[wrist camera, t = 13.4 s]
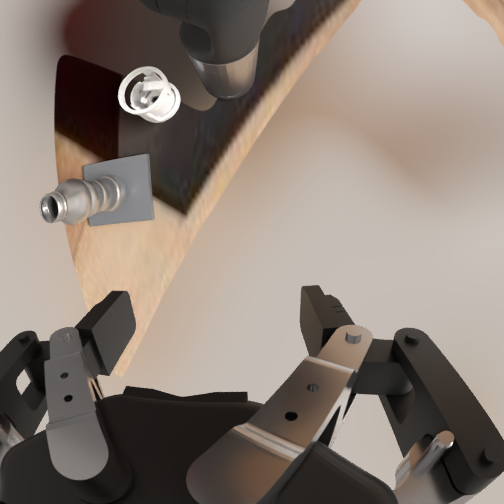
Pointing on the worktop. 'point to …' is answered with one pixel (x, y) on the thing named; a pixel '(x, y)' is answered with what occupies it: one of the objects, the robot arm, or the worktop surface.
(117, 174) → the board
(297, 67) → the worktop surface
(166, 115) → the white cylindrical piece
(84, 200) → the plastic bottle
